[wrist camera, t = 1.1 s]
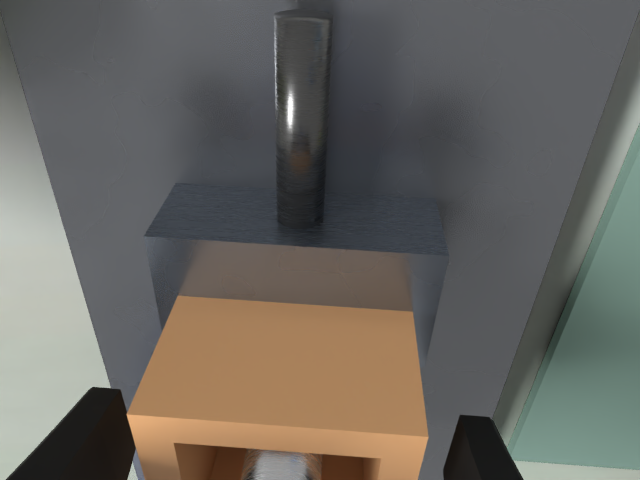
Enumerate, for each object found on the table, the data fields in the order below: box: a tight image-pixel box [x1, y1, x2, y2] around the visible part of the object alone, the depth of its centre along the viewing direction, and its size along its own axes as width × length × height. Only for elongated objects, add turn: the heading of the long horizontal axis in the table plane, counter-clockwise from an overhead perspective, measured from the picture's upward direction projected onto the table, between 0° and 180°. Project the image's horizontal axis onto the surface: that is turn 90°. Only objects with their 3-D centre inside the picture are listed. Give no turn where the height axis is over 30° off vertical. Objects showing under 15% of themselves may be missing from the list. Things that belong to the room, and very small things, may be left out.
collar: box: [127, 296, 428, 480], centre depth 11 cm, size 5×5×3 cm
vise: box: [0, 0, 640, 480], centre depth 12 cm, size 18×12×7 cm, turn 178°
